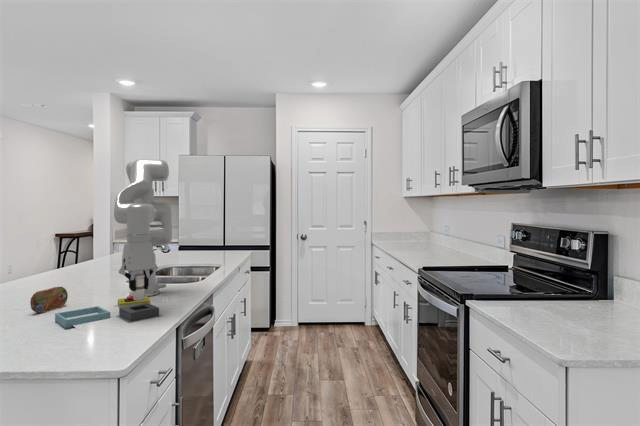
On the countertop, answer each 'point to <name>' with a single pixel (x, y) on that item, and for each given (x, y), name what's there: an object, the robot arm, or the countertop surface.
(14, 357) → the countertop surface
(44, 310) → the tin
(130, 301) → the emergency button
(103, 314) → the parts tray
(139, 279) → the fuse
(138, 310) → the fuse panel
